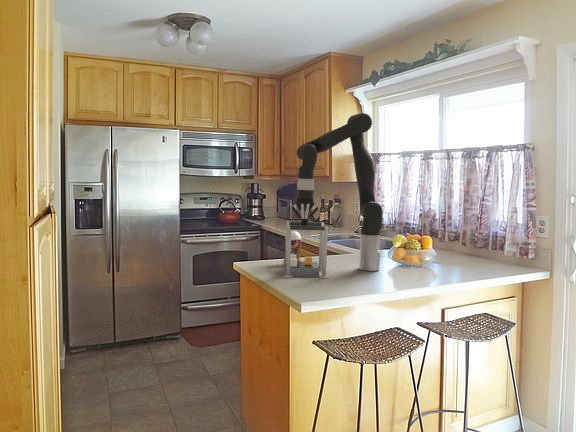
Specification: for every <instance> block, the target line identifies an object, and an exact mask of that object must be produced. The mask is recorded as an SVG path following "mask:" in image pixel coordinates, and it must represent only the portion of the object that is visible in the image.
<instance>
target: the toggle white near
mask: <svg viewBox="0 0 576 432" xmlns="http://www.w3.org/2000/svg"><path fill="white" fill-rule="evenodd" d="M290 266H297V259H295V258H290Z"/></svg>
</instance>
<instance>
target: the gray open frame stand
mask: <svg viewBox="0 0 576 432" xmlns="http://www.w3.org/2000/svg"><path fill="white" fill-rule="evenodd" d="M293 225H294V226H293ZM328 228H329V226H325V223H324V222H322V221H321V222H320V221H319V222H315V221H311V222H310V221H308V224H307V226H302V225H301V221H286V229H285V231H286V233H285V237H286V248H285V259H286V275H283V274H282V275H283V278H287V279H289V278H290V279H291V278H293V276H292V275H290V256H291V231H293V230H294V231H319V246H318V249H319V250H318V266H319V272H321V274H319V277H318V278H319V279H324V280H326V279H329V275H327V261H328V260H327V259H328V258H327V257H328V235H329V234H328V230H329V229H328Z"/></svg>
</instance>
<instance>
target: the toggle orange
mask: <svg viewBox="0 0 576 432" xmlns="http://www.w3.org/2000/svg"><path fill="white" fill-rule="evenodd" d="M304 262H305V264H307V265H312V262H313V257H312V256H310V255H307V256H304Z"/></svg>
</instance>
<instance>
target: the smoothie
mask: <svg viewBox="0 0 576 432" xmlns="http://www.w3.org/2000/svg"><path fill="white" fill-rule="evenodd" d="M292 226H295V225H292ZM284 239H285V240H284V242H285V243H284V244H285V245H284V246H285V249H286V236H285V237H284ZM302 239H303V238H302V236H301V234H300V232H298V230H291V254H294V255H296V259H297V261H300V260H301V252H302V251H301V250H302V249H301V248H302Z"/></svg>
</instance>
